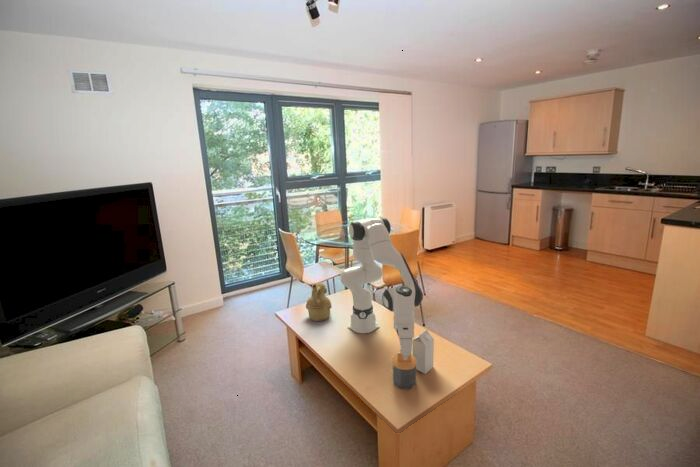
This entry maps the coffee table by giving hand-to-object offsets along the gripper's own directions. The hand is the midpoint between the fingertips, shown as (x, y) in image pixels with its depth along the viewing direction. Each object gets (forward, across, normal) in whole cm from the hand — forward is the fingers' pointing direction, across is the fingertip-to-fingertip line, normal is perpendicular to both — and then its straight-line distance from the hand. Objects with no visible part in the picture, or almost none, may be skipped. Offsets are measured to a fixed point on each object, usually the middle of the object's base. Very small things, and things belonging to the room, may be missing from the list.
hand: (403, 352), depth 139 cm
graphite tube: (+15, 0, 0) cm, 15 cm away
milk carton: (+15, -10, +10) cm, 21 cm away
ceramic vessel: (+16, -62, -48) cm, 80 cm away
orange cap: (+7, 0, 0) cm, 7 cm away
